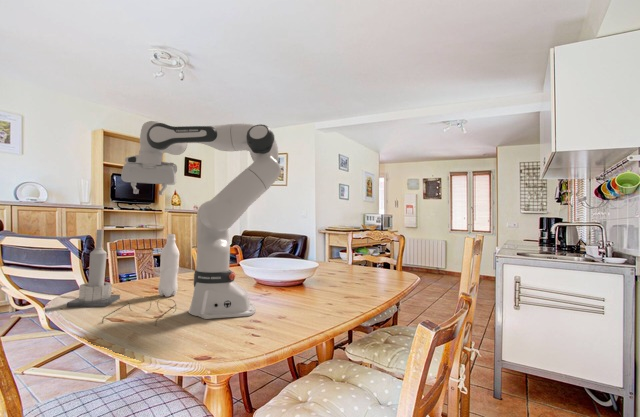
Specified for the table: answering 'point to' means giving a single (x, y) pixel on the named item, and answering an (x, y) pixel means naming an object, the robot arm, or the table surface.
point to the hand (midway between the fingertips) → (148, 194)
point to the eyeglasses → (146, 310)
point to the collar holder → (94, 296)
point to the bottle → (97, 263)
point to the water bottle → (169, 268)
